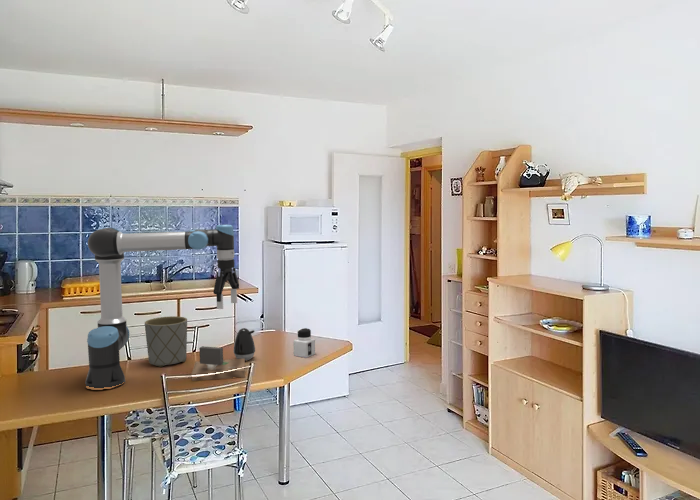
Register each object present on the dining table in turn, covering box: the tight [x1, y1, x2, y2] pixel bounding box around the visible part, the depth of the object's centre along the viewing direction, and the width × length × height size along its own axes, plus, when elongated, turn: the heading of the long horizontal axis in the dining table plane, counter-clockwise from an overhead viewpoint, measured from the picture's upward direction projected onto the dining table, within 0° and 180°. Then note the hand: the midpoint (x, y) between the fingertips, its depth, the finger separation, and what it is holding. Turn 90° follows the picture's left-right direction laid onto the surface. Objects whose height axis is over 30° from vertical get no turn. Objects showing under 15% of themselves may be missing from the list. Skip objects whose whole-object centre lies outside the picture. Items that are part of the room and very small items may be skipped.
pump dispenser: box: [233, 327, 256, 362], centre depth 256 cm, size 10×10×15 cm
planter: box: [144, 315, 188, 368], centre depth 253 cm, size 19×19×20 cm
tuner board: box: [191, 358, 246, 382], centre depth 237 cm, size 22×18×3 cm
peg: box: [198, 346, 224, 370], centre depth 236 cm, size 12×10×10 cm
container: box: [293, 327, 316, 359], centre depth 263 cm, size 8×8×13 cm
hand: (227, 305), depth 241 cm, fingers open, 13 cm apart
